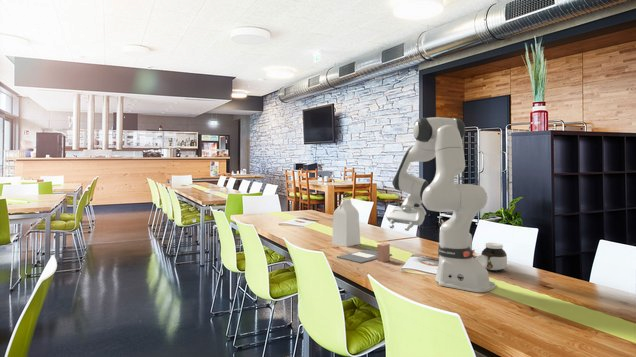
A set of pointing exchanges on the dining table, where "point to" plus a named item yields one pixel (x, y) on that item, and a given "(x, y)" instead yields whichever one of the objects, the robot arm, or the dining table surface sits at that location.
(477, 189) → the robot arm
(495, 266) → the spread jar
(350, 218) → the milk
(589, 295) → the dining table surface
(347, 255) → the charcoal mat
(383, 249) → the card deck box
